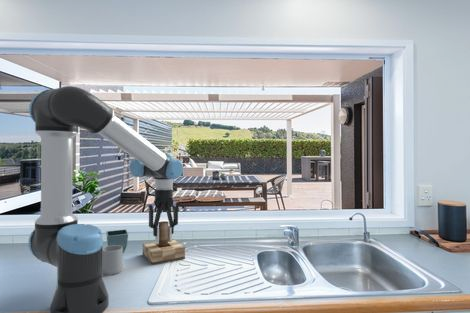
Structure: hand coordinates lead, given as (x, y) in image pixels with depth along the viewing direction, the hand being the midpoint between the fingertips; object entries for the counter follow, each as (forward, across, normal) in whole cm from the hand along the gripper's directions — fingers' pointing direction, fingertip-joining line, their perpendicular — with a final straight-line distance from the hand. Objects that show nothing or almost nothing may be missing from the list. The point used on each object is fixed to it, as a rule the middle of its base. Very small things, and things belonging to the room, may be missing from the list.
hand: (163, 242), depth 134 cm
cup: (+6, +21, +5) cm, 23 cm away
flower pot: (+7, +16, -16) cm, 24 cm away
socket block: (+6, 0, 0) cm, 6 cm away
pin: (+5, 0, 0) cm, 5 cm away
